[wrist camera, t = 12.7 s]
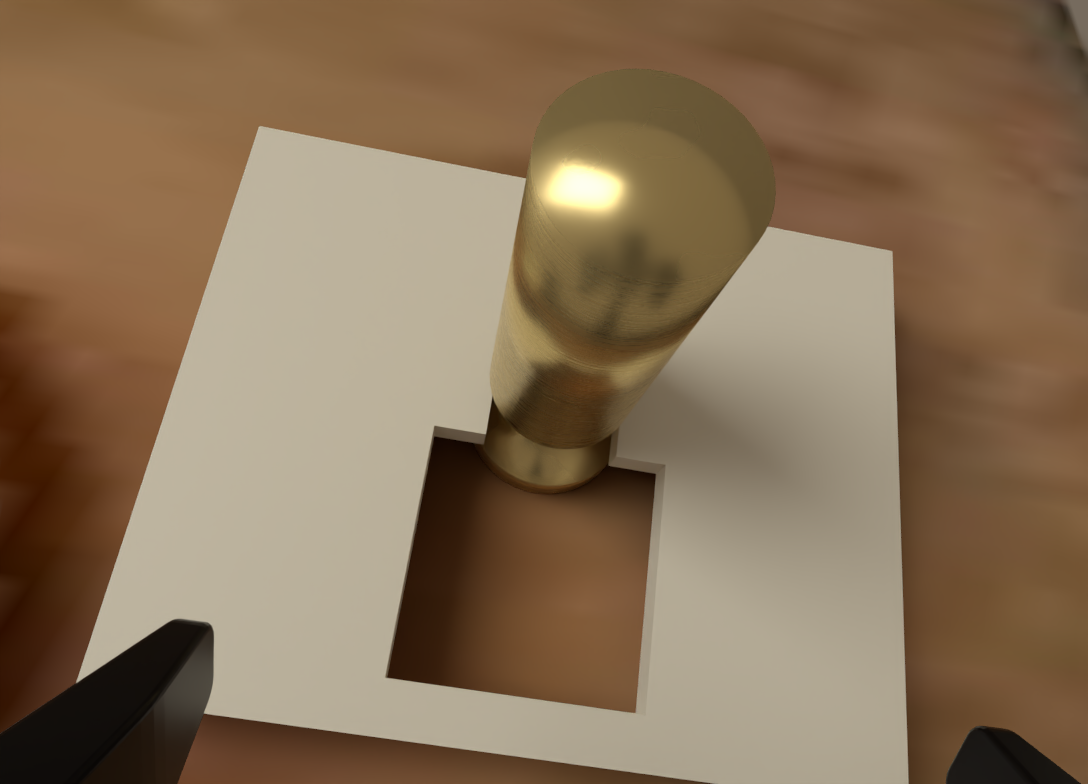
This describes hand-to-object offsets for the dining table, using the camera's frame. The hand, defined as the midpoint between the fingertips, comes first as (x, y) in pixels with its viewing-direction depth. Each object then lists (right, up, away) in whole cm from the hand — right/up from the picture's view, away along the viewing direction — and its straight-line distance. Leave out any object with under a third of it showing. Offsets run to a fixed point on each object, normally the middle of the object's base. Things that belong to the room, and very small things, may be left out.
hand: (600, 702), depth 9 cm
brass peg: (-1, +3, +15) cm, 16 cm away
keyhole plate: (-1, 0, +15) cm, 15 cm away
